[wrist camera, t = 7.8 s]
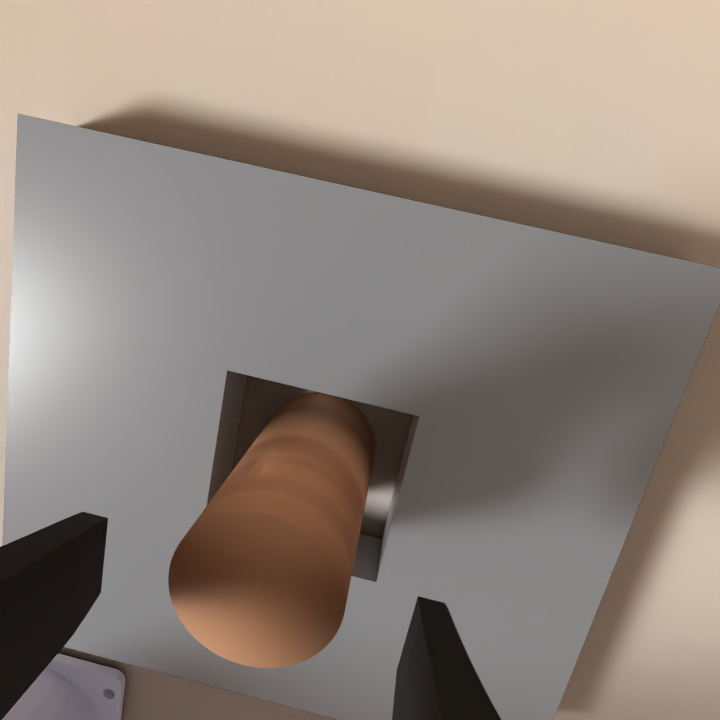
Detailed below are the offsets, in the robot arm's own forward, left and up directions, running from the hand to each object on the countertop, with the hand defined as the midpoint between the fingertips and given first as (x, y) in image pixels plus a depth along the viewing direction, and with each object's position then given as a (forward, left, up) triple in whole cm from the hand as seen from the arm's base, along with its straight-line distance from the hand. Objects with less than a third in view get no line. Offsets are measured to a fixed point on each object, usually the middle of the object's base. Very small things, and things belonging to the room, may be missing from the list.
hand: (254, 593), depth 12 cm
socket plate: (0, 0, -8) cm, 8 cm away
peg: (0, 0, -8) cm, 8 cm away
